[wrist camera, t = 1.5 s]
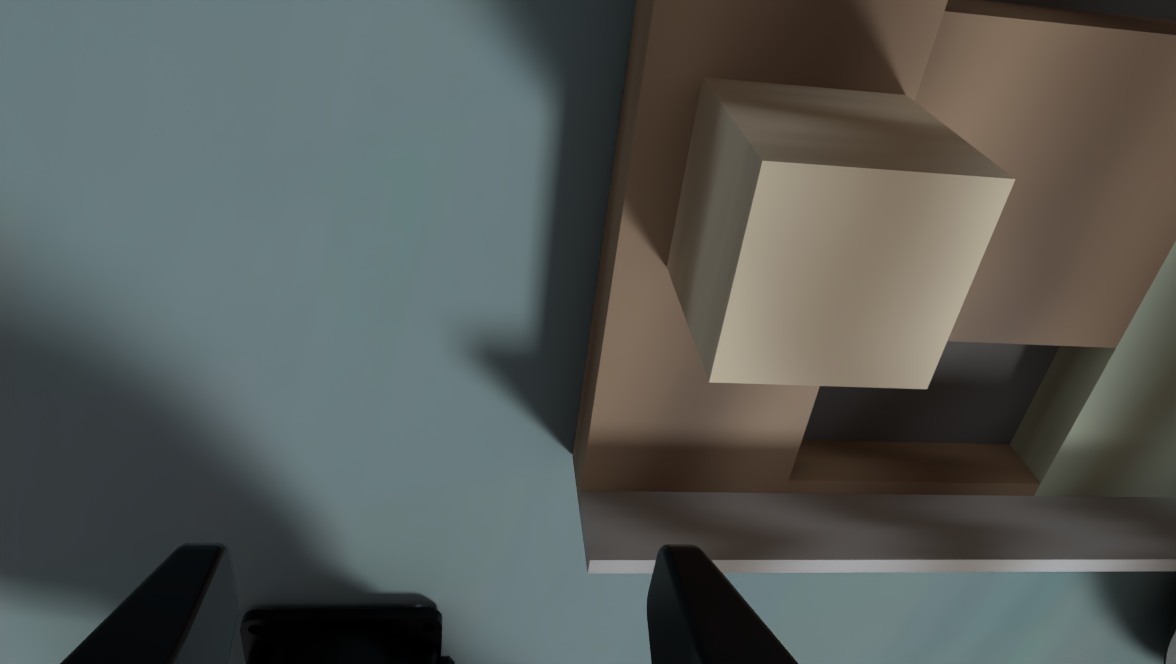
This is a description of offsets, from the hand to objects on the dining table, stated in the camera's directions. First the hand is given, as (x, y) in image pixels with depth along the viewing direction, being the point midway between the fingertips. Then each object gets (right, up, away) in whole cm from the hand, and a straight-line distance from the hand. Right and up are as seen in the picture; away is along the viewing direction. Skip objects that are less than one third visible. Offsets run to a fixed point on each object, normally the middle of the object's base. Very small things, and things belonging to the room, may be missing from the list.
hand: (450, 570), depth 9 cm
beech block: (+6, +6, +10) cm, 13 cm away
